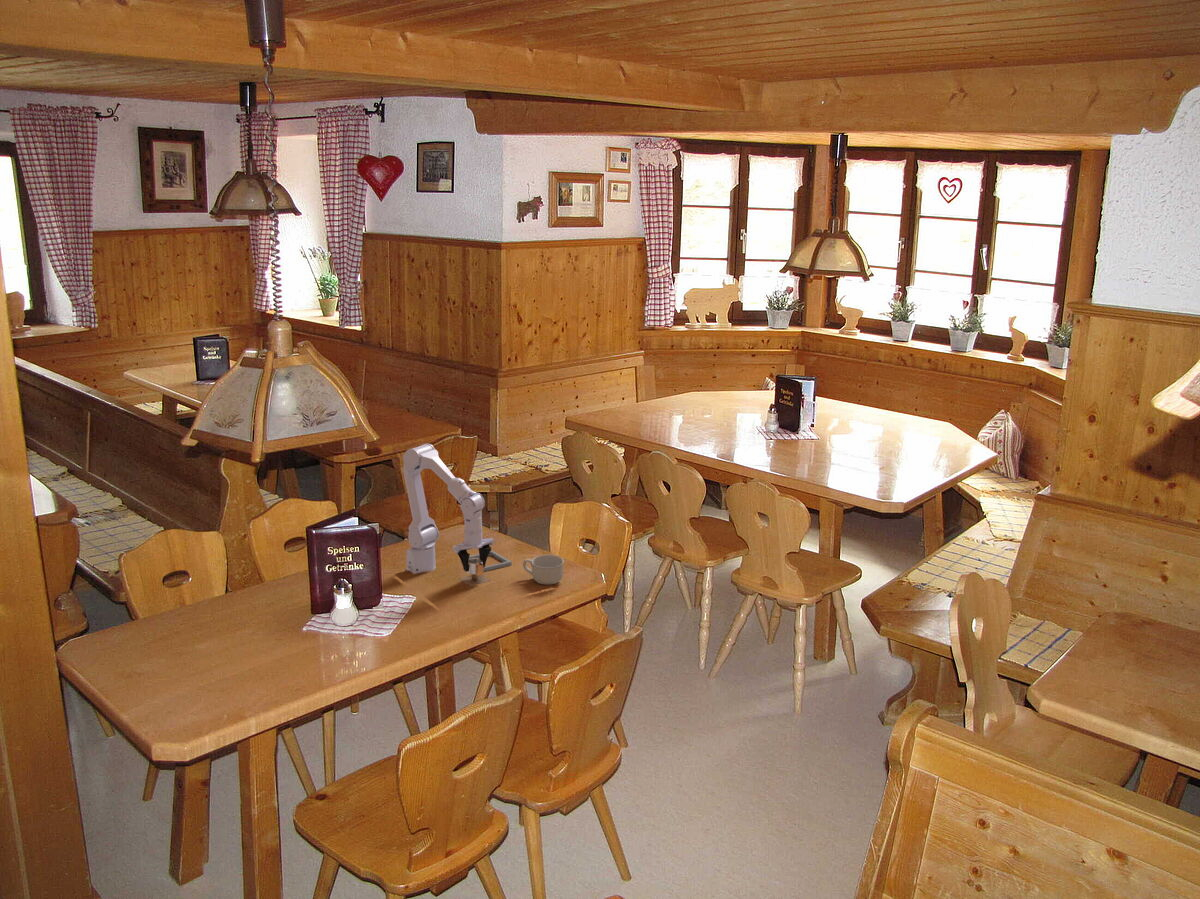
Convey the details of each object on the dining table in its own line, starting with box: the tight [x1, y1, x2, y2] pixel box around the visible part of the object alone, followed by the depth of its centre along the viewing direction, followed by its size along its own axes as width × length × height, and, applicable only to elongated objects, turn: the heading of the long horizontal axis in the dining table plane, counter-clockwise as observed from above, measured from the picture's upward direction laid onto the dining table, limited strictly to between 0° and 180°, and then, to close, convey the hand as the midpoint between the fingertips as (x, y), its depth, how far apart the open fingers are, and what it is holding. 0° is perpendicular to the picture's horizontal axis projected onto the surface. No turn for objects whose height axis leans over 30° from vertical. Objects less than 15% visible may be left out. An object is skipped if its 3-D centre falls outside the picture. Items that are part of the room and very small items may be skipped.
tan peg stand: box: [458, 574, 492, 587], centre depth 330 cm, size 8×8×5 cm
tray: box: [469, 550, 513, 573], centre depth 345 cm, size 12×13×2 cm
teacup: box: [522, 554, 565, 586], centre depth 330 cm, size 14×11×8 cm
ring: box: [465, 558, 484, 576], centre depth 329 cm, size 6×7×4 cm
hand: (474, 568), depth 330 cm, fingers closed on ring, 6 cm apart
